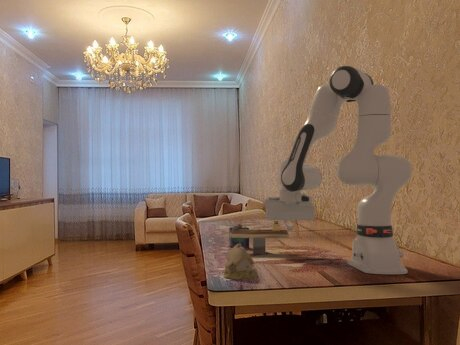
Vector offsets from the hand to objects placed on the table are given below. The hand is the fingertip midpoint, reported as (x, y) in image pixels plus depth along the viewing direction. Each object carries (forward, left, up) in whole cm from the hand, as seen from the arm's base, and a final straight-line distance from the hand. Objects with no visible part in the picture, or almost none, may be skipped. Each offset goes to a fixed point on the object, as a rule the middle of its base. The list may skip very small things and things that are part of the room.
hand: (290, 230), depth 167 cm
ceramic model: (-39, +19, -10) cm, 44 cm away
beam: (0, +13, -9) cm, 16 cm away
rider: (0, +6, -1) cm, 6 cm away
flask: (+13, +22, -9) cm, 27 cm away
